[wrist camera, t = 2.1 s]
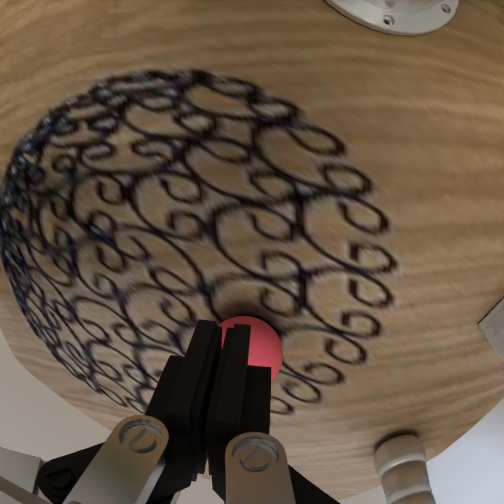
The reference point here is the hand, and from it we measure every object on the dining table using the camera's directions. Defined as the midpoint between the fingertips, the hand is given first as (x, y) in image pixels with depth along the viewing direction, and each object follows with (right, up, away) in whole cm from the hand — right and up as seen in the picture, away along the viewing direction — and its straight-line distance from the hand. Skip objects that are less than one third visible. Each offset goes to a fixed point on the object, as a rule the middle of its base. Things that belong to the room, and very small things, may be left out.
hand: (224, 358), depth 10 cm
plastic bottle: (+19, -21, +22) cm, 36 cm away
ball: (0, -4, +14) cm, 15 cm away
